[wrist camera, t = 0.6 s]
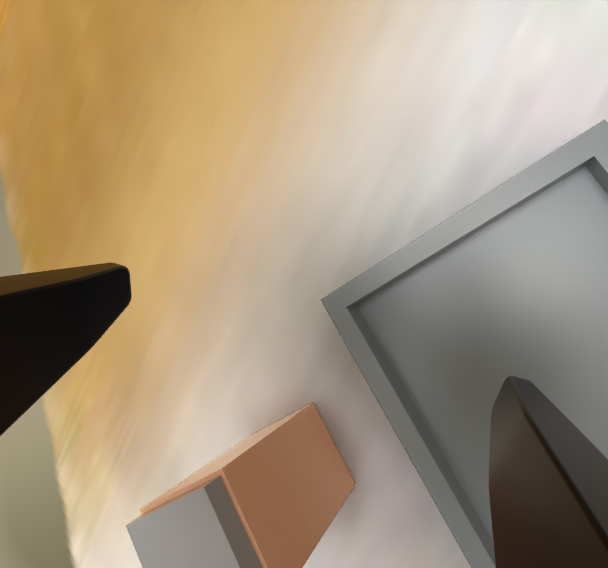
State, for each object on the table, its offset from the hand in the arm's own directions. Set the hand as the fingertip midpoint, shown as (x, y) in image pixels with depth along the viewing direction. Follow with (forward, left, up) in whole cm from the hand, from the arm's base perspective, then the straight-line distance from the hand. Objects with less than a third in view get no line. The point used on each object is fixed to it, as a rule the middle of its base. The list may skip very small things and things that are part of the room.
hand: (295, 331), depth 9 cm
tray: (-7, -4, -13) cm, 16 cm away
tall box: (-5, +10, -14) cm, 18 cm away
